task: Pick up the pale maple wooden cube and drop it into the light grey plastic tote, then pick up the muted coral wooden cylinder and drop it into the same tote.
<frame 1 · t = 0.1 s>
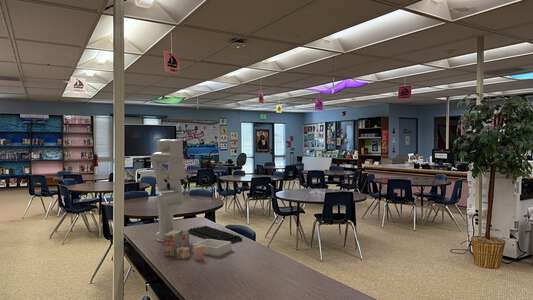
hand: (177, 189, 215), 37 cm above the table, tool pointing down, fingers open, 9 cm apart
cylinder: (198, 259, 201), on the table
cube: (183, 257, 206), on the table
computer keyboard: (213, 237, 250), on the table
stack of blocks: (177, 251, 219), on the table
tote: (212, 251, 215), on the table
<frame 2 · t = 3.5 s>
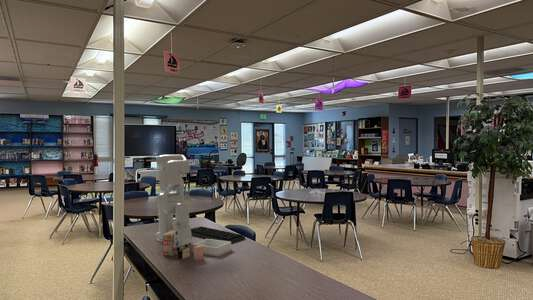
hand: (183, 255, 206), 0 cm above the table, tool pointing down, fingers closed on cube, 4 cm apart
cube: (183, 256, 206), on the table, touching gripper
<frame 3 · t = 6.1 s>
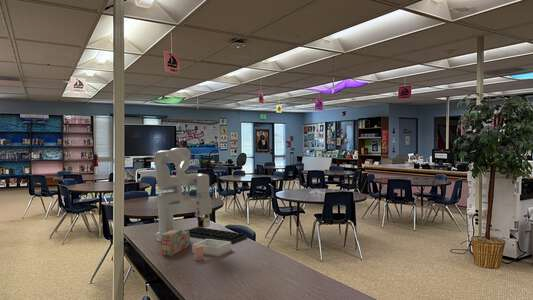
hand: (203, 225, 216), 15 cm above the table, tool pointing down, fingers closed on cube, 4 cm apart
cube: (203, 226, 216), point 15 cm above the table, touching gripper
when the fingers open (5 cm above the table, at t = 8.6 s): cube drops 3 cm, resting on tote.
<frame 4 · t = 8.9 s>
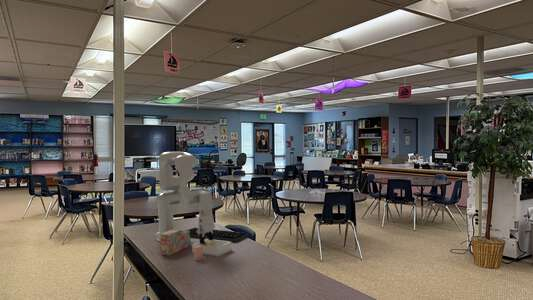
hand: (206, 241, 217), 5 cm above the table, tool pointing down, fingers open, 7 cm apart
cube: (206, 249, 217), point 1 cm above the table, touching tote
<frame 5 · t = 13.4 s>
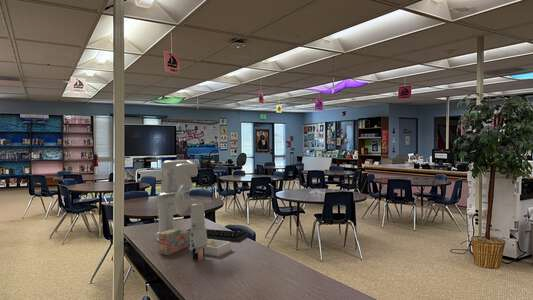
hand: (198, 258, 201), 1 cm above the table, tool pointing down, fingers closed on cylinder, 4 cm apart
cylinder: (198, 259, 201), on the table, touching gripper
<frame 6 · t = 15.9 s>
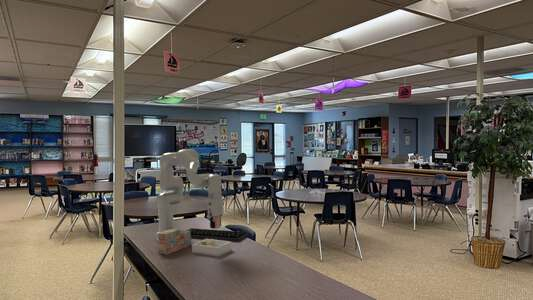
hand: (215, 226, 212), 15 cm above the table, tool pointing down, fingers closed on cylinder, 4 cm apart
cylinder: (215, 227, 212), point 15 cm above the table, touching gripper
when the fingers open (5 cm above the table, at t = 18.4 s): cylinder drops 3 cm, resting on tote.
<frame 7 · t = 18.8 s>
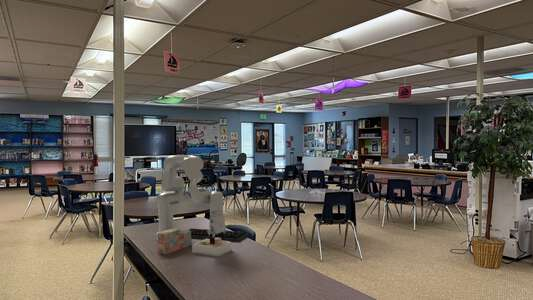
hand: (217, 242, 213), 6 cm above the table, tool pointing down, fingers open, 9 cm apart
cylinder: (217, 250, 213), point 1 cm above the table, touching tote
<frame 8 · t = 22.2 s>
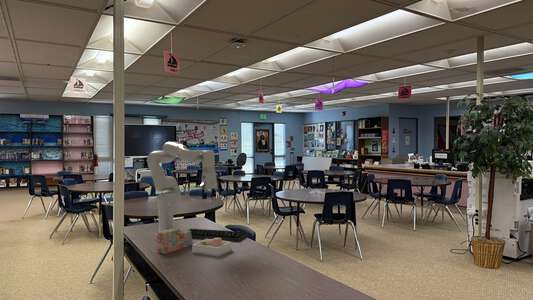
hand: (209, 197, 225), 30 cm above the table, tool pointing down, fingers open, 9 cm apart
at the end: cube inside the target area on the tote (4.0 cm from its centre), point 1.0 cm above the tote's base; cylinder inside the target area on the tote (4.0 cm from its centre), point 1.0 cm above the tote's base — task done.
